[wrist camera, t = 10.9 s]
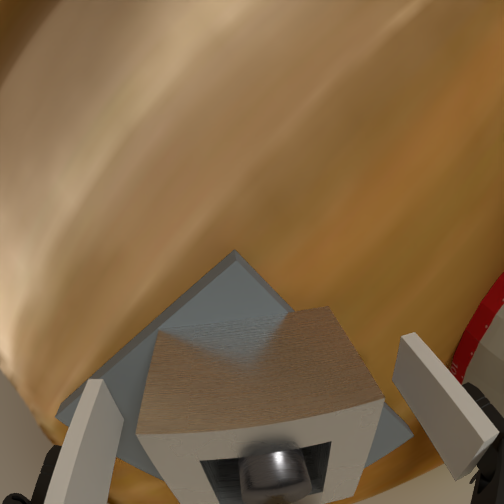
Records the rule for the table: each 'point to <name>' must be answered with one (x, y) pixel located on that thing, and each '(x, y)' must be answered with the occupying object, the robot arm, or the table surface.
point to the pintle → (274, 477)
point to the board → (195, 313)
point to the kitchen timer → (484, 348)
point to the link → (258, 404)
